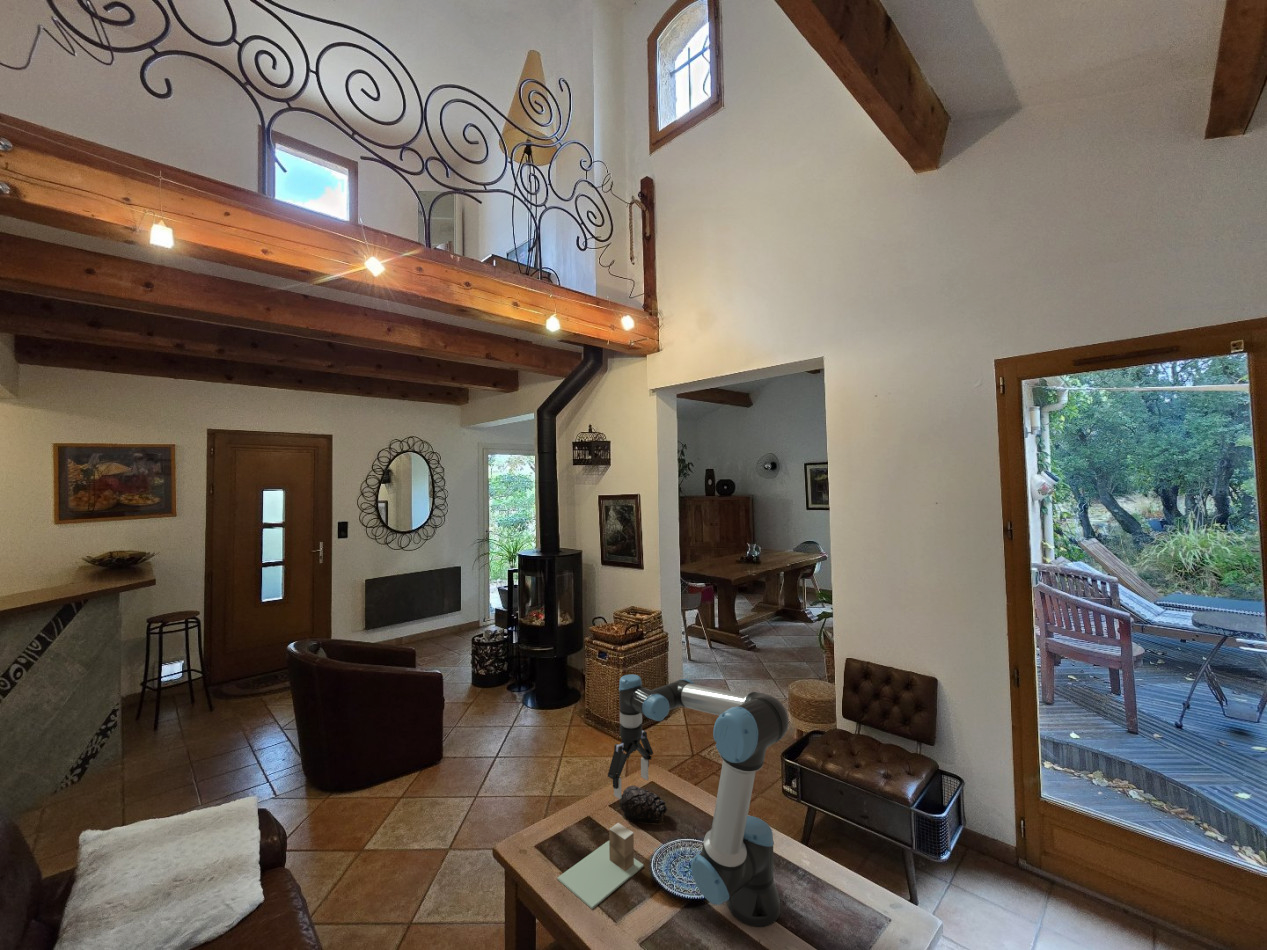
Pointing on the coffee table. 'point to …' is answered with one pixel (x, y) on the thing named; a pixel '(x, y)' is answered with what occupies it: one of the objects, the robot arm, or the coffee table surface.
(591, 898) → the mat
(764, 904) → the robot arm
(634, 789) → the pine cone
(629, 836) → the beige rectangular block
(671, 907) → the coffee table surface
